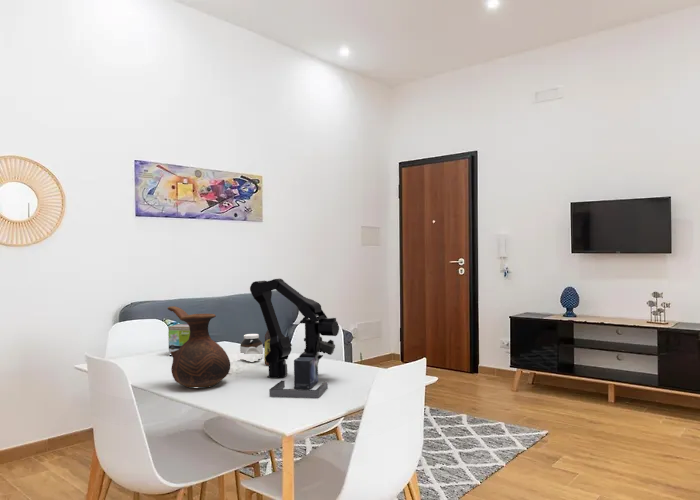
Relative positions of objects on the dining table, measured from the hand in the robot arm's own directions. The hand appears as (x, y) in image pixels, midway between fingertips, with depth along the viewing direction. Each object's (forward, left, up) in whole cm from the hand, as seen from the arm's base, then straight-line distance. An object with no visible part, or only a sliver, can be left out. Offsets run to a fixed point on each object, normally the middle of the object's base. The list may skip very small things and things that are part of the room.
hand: (313, 375), depth 212 cm
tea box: (-77, +46, -2) cm, 90 cm away
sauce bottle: (-26, +26, -2) cm, 37 cm away
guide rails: (0, -19, -2) cm, 19 cm away
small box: (0, -10, -2) cm, 10 cm away
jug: (-41, -12, -2) cm, 43 cm away
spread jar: (-38, +34, -2) cm, 51 cm away
